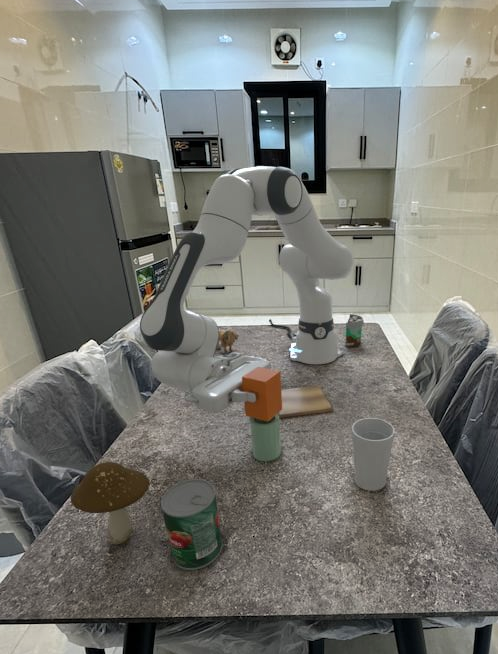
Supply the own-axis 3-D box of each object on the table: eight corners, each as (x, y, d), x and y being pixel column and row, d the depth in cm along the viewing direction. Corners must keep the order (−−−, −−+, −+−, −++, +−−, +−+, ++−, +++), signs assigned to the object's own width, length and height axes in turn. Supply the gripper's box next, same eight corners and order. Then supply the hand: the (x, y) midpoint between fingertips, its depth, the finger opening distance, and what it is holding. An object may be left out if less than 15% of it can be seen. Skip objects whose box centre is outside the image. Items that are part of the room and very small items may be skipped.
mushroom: (151, 560, 60) (131, 484, 54) (76, 565, 60) (48, 489, 54) (167, 516, 69) (152, 446, 63) (102, 520, 68) (80, 450, 62)
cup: (343, 473, 79) (344, 423, 74) (376, 463, 81) (379, 414, 77) (362, 498, 72) (365, 445, 67) (398, 486, 75) (403, 434, 70)
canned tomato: (161, 561, 60) (148, 507, 55) (192, 524, 67) (182, 474, 62) (204, 577, 57) (194, 521, 53) (232, 537, 64) (225, 485, 60)
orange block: (245, 415, 80) (241, 376, 76) (260, 403, 85) (257, 366, 81) (268, 421, 78) (265, 382, 74) (282, 409, 82) (280, 371, 79)
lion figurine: (242, 352, 142) (240, 329, 138) (230, 356, 138) (227, 333, 135) (220, 343, 151) (218, 321, 148) (208, 346, 148) (206, 324, 144)
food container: (361, 349, 143) (362, 323, 139) (345, 348, 144) (346, 322, 140) (364, 338, 154) (365, 314, 150) (349, 337, 155) (349, 313, 151)
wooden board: (272, 393, 111) (272, 390, 111) (319, 388, 114) (319, 385, 114) (279, 418, 99) (279, 414, 98) (332, 411, 102) (332, 407, 101)
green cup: (251, 446, 88) (248, 412, 84) (278, 443, 89) (276, 409, 85) (254, 463, 82) (251, 427, 78) (283, 459, 83) (281, 423, 80)
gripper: (176, 384, 75) (233, 398, 69) (239, 349, 91) (290, 358, 86) (181, 411, 77) (236, 428, 72) (242, 373, 94) (291, 383, 88)
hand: (266, 390), depth 79 cm, fingers closed on orange block, 5 cm apart
